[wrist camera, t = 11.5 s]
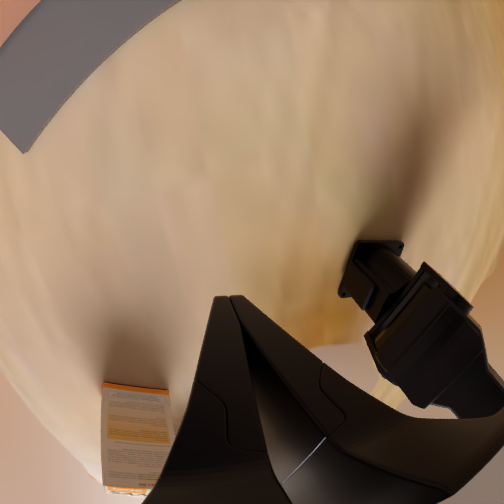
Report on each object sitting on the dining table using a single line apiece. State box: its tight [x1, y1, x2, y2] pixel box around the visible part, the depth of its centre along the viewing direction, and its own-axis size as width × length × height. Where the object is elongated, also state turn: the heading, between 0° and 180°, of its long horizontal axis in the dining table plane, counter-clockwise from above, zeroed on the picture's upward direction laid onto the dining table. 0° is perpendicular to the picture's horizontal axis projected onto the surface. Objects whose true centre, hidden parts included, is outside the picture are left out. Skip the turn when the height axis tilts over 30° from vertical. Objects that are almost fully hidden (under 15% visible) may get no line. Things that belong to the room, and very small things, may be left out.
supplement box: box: [101, 382, 175, 497], centre depth 25 cm, size 8×5×13 cm, turn 66°
